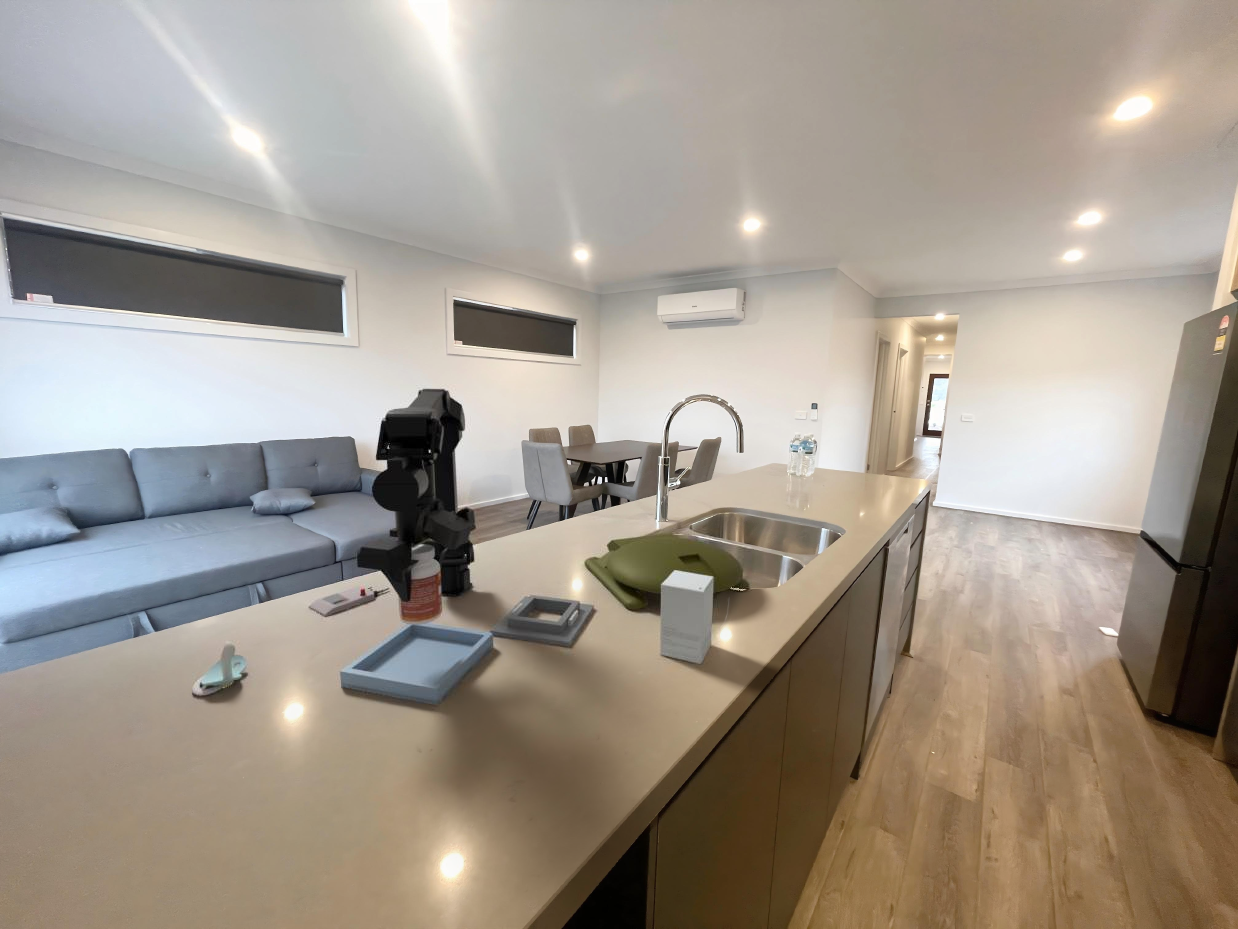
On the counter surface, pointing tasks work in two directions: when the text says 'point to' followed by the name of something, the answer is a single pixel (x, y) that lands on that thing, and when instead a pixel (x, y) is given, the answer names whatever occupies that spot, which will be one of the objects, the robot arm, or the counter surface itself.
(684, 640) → the supplement box
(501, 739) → the counter surface
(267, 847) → the counter surface
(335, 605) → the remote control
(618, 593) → the spaceship
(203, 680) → the pacifier
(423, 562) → the pill bottle
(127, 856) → the counter surface
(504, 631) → the grey square frame
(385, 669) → the tray
